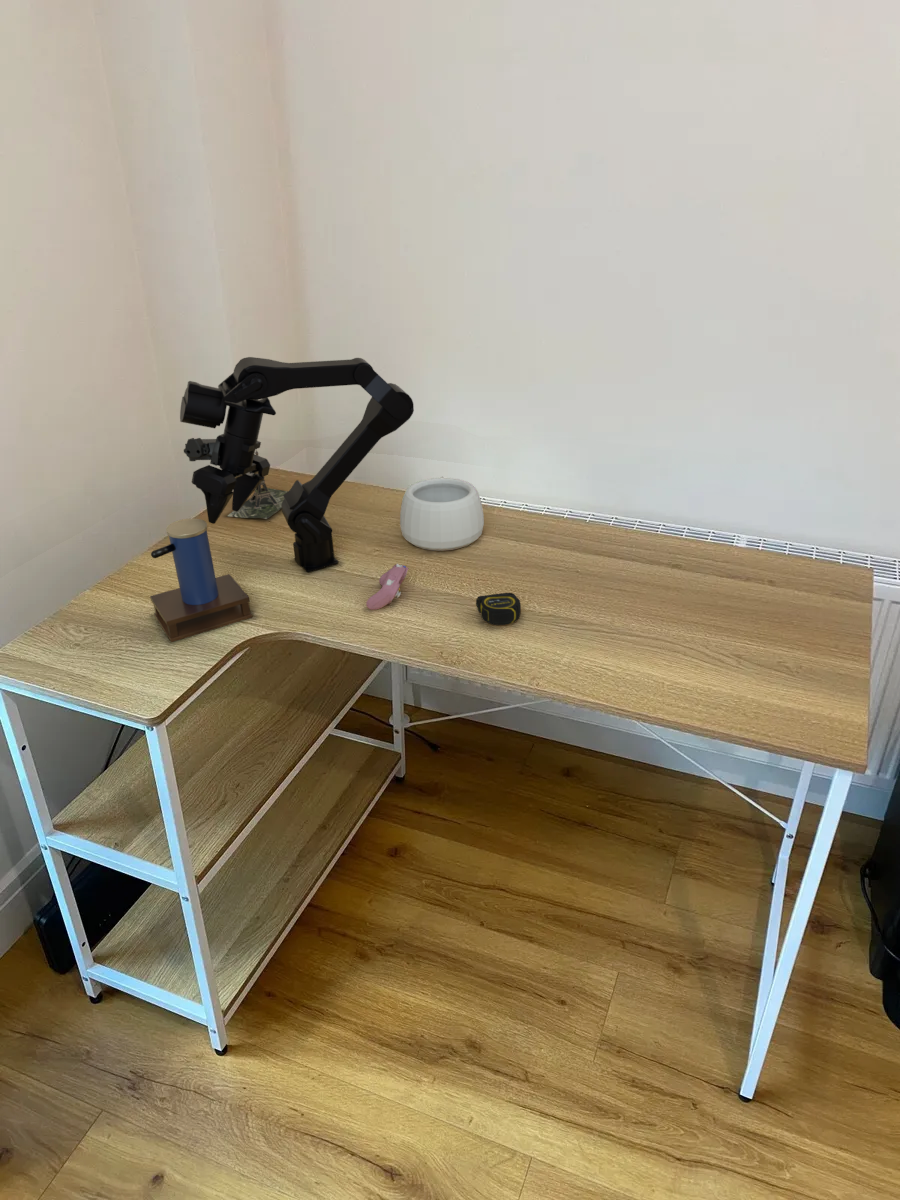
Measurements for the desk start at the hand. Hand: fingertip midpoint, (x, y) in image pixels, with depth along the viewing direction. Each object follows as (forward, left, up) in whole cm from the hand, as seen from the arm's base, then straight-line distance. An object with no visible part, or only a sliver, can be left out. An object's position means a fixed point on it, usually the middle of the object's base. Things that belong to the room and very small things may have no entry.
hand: (223, 516), depth 153 cm
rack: (+9, +11, -12) cm, 19 cm away
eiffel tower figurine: (-17, -28, -13) cm, 35 cm away
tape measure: (-32, +39, -13) cm, 52 cm away
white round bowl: (-42, +5, -13) cm, 44 cm away
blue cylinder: (+11, +11, -8) cm, 18 cm away
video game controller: (-20, +23, -13) cm, 33 cm away
